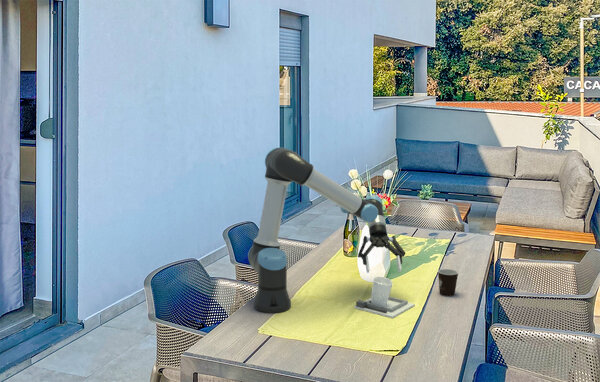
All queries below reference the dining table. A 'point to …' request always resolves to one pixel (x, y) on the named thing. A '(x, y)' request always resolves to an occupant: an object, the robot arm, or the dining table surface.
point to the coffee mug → (447, 281)
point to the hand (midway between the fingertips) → (384, 271)
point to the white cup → (381, 291)
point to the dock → (385, 307)
